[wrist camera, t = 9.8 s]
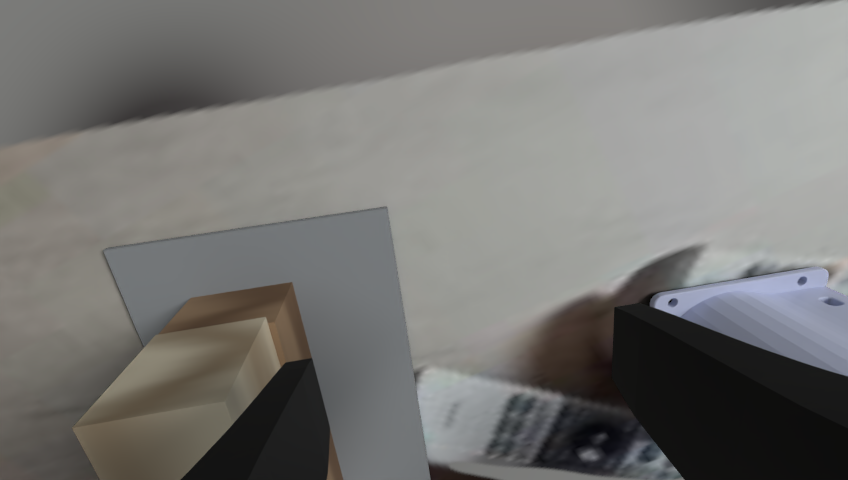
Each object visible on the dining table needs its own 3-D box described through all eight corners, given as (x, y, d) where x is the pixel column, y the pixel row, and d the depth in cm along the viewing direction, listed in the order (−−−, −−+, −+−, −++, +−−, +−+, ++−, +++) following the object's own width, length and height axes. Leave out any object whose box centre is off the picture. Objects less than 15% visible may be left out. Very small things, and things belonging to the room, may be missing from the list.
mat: (386, 206, 19) (387, 208, 18) (433, 497, 25) (434, 502, 25) (107, 247, 18) (103, 250, 18) (227, 536, 24) (225, 542, 24)
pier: (292, 281, 19) (274, 322, 16) (313, 364, 20) (301, 416, 17) (190, 297, 19) (151, 342, 15) (219, 380, 20) (190, 436, 17)
